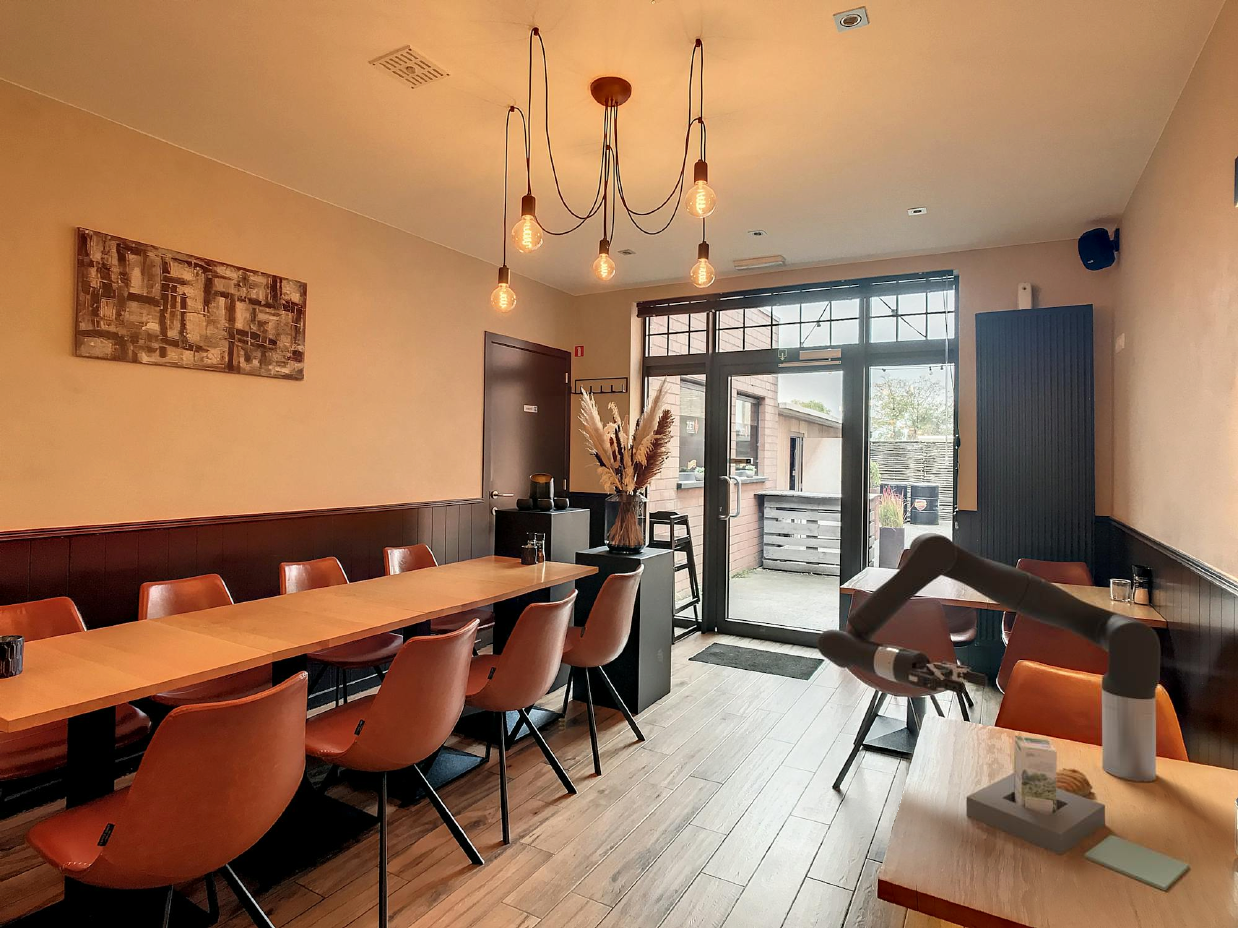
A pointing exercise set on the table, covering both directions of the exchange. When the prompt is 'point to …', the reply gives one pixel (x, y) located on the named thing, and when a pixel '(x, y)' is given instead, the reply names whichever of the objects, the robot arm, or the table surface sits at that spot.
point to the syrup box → (1035, 774)
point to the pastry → (1073, 782)
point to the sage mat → (1137, 862)
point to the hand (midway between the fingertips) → (975, 684)
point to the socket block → (1037, 816)
